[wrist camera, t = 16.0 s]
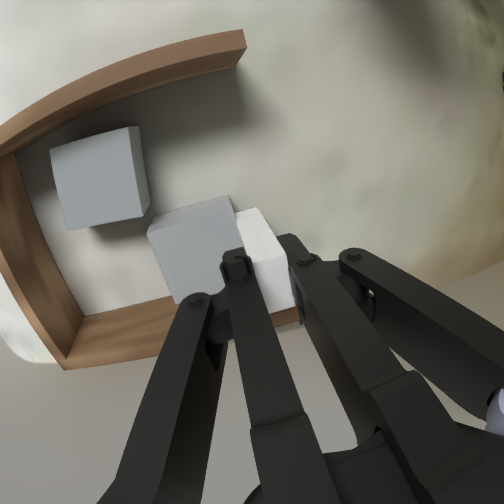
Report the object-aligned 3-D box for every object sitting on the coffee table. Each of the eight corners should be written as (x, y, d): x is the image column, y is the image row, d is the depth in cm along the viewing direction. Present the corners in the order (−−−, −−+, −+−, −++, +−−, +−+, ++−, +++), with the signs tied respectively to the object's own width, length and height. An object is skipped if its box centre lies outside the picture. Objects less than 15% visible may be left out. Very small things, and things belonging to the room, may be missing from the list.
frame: (2, 146, 13) (-41, 158, 9) (231, 53, 14) (242, 29, 10) (81, 328, 21) (64, 370, 16) (279, 278, 22) (299, 320, 17)
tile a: (69, 144, 15) (49, 149, 12) (139, 126, 16) (127, 126, 13) (84, 215, 17) (67, 231, 15) (151, 201, 18) (142, 216, 15)
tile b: (153, 216, 18) (146, 233, 15) (227, 194, 18) (232, 208, 16) (177, 279, 20) (175, 304, 18) (245, 261, 21) (252, 283, 18)
